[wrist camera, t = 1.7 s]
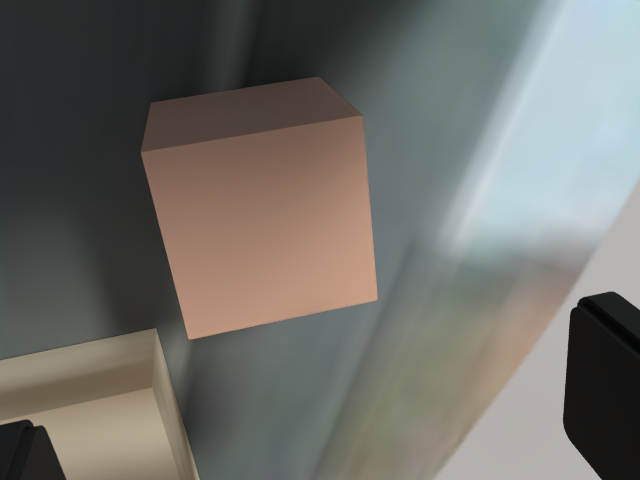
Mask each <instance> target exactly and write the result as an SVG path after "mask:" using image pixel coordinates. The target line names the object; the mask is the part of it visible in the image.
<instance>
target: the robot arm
mask: <svg viewBox="0 0 640 480" xmlns="http://www.w3.org/2000/svg"><path fill="white" fill-rule="evenodd" d="M566 371H567V372H566V384H565V399H564V413H563V424H564V429H565V432H566V434H567V436H568V438H569V439H570V441H571V442H572V444H573V445H574V446H575V447H576V448H577V450H578V451H579V452H580V453H581V455H582V456H583V457H584V458H585V460H586V461H587V462H588V463H589V464H590V466H591V467H592V468H593V469H594V471H595V472H596V473H597V474H598V476H599V477H600V478H601V479H602V480H640V310H639V309H637V308H636V307H635V306H634V305H632V304H631V303H629V302H628V301H627V300H626V299H624V298H623V297H622V296H620V295H619V294H617V293H615V292H606V293H602V294H597V295H592V296H588V297H583V298H582V299H580V300H579V302H578V305H577V307H575V308H573V309H572V311H571V314H570V325H569V341H568V356H567V369H566ZM0 480H67V479H66V477H65V474H64V472H63V469H62V467H61V465H60V462H59V460H58V457H57V455H56V452H55V450H54V447H53V445H52V442H51V440H50V437H49V435H48V433H47V431H46V429H45V427H44V426H42V425H39V426H35V427H34V425H33V423H32V422H31V421H30V420H28V419H25V420H20V421H16V422H11V423H7V424H2V425H0Z"/></svg>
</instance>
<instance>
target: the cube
mask: <svg viewBox="0 0 640 480" xmlns="http://www.w3.org/2000/svg"><path fill="white" fill-rule="evenodd" d="M141 155H142V159H143V163H144V167H145V171H146V175H147V179H148V183H149V187H150V191H151V194H152V198H153V202H154V206H155V210H156V214H157V218H158V222H159V226H160V230H161V233H162V237H163V241H164V245H165V249H166V253H167V257H168V261H169V265H170V269H171V273H172V276H173V280H174V284H175V288H176V292H177V296H178V300H179V304H180V308H181V312H182V315H183V319H184V323H185V327H186V331H187V335H188V339H189V340H191V339H195V338H200V337H205V336H210V335H214V334H219V333H224V332H228V331H233V330H238V329H243V328H247V327H252V326H257V325H262V324H266V323H271V322H276V321H281V320H285V319H290V318H295V317H300V316H304V315H309V314H314V313H318V312H323V311H328V310H333V309H337V308H342V307H347V306H352V305H356V304H361V303H366V302H371V301H375V300H378V298H377V285H376V273H375V261H374V248H373V236H372V223H371V211H370V199H369V186H368V174H367V162H366V149H365V137H364V125H363V115H362V114H361V113H360V112H359V111H357V110H356V109H355V108H354V107H353V106H352V105H351V104H350V103H348V102H347V101H346V100H345V99H344V98H343V97H342V96H341V95H340V94H338V93H337V92H336V91H335V90H334V89H333V88H332V87H331V86H329V85H328V84H327V83H326V82H325V81H324V80H323V79H322V78H320V77H319V76H318V77H312V78H305V79H299V80H292V81H286V82H280V83H273V84H267V85H260V86H254V87H248V88H241V89H235V90H229V91H222V92H216V93H209V94H203V95H197V96H190V97H184V98H177V99H171V100H165V101H158V102H152V103H151V104H150V109H149V114H148V119H147V124H146V129H145V134H144V139H143V144H142V149H141Z"/></svg>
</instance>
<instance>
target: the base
mask: <svg viewBox="0 0 640 480" xmlns="http://www.w3.org/2000/svg"><path fill="white" fill-rule="evenodd" d="M25 419H28V420H30V421H31V422H32V423H33V425H34V427H35V426H39V425H42V426H44V427H45V429H46V431H47V433H48V435H49V437H50V440H51V442H52V445H53V447H54V450H55V452H56V455H57V457H58V460H59V462H60V465H61V467H62V469H63V472H64V474H65V477H66V479H67V480H200V479H199V476H198V472H197V469H196V465H195V462H194V458H193V455H192V452H191V448H190V445H189V441H188V438H187V434H186V431H185V427H184V424H183V420H182V417H181V413H180V410H179V406H178V403H177V399H176V396H175V392H174V389H173V385H172V382H171V378H170V375H169V371H168V368H167V364H166V361H165V357H164V354H163V350H162V347H161V343H160V340H159V336H158V333H157V329H156V328H154V329H149V330H144V331H139V332H134V333H130V334H125V335H120V336H115V337H110V338H105V339H101V340H96V341H91V342H86V343H81V344H77V345H72V346H67V347H62V348H57V349H52V350H48V351H43V352H38V353H33V354H28V355H24V356H19V357H14V358H9V359H4V360H0V425H2V424H7V423H11V422H16V421H20V420H25Z"/></svg>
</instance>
